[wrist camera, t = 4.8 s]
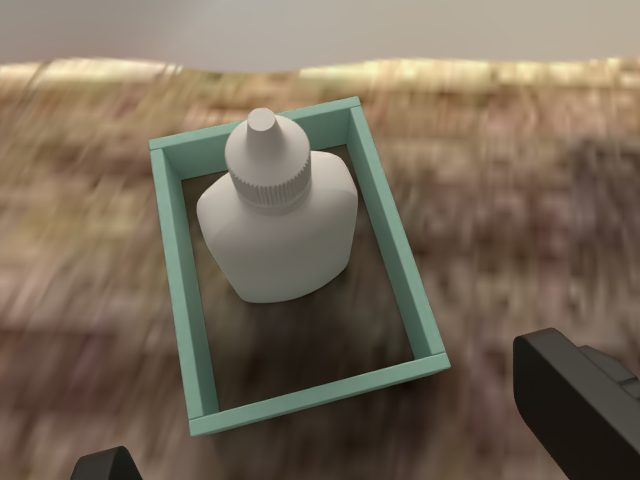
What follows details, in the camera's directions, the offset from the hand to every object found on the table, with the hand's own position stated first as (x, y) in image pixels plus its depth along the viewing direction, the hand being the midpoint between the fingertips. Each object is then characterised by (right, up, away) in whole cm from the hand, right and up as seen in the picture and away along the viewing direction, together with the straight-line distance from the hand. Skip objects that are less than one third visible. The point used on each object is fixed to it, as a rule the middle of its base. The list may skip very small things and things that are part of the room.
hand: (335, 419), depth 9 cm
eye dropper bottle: (-2, +2, +14) cm, 14 cm away
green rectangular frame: (-2, +2, +13) cm, 14 cm away
